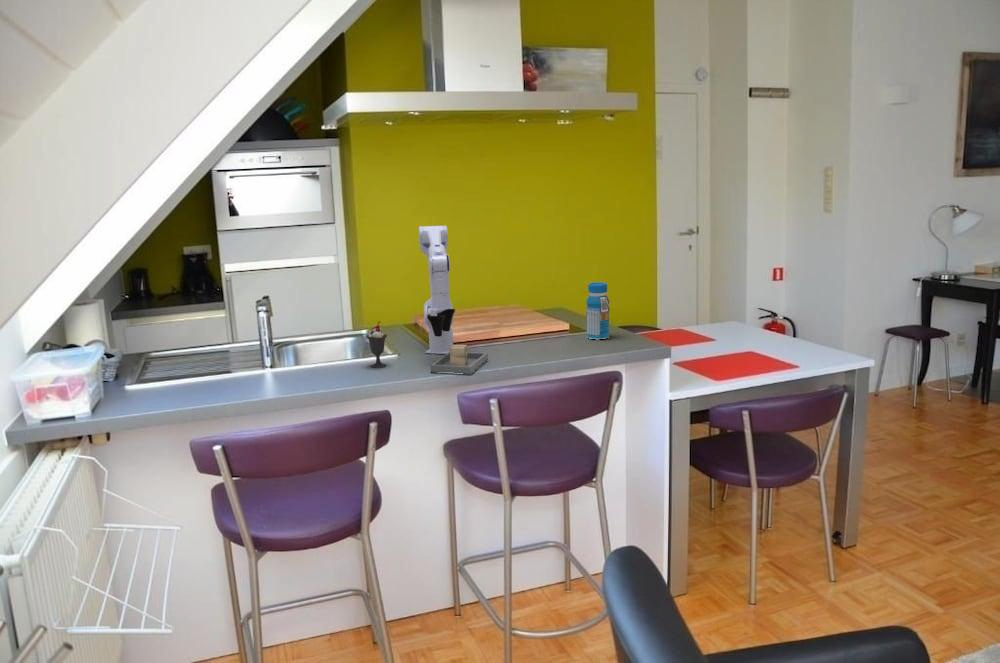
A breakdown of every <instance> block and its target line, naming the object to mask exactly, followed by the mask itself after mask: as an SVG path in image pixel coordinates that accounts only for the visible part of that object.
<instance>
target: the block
mask: <svg viewBox="0 0 1000 663" xmlns="http://www.w3.org/2000/svg"><path fill="white" fill-rule="evenodd" d="M467 352H468V345H467V344H453V345H452V347H451V348H450V362H451V366H466V364H467Z"/></svg>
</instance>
